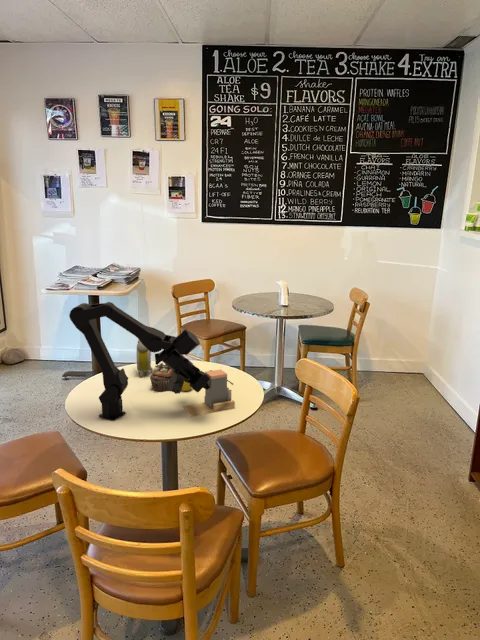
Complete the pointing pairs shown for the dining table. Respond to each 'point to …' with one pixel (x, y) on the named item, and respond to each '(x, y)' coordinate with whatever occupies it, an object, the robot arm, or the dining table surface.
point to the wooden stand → (204, 409)
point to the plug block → (216, 388)
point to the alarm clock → (143, 359)
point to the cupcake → (161, 378)
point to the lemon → (186, 386)
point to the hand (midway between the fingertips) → (208, 388)
